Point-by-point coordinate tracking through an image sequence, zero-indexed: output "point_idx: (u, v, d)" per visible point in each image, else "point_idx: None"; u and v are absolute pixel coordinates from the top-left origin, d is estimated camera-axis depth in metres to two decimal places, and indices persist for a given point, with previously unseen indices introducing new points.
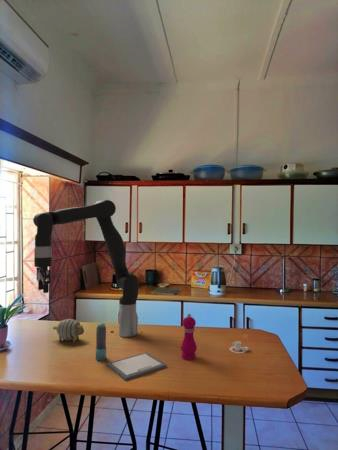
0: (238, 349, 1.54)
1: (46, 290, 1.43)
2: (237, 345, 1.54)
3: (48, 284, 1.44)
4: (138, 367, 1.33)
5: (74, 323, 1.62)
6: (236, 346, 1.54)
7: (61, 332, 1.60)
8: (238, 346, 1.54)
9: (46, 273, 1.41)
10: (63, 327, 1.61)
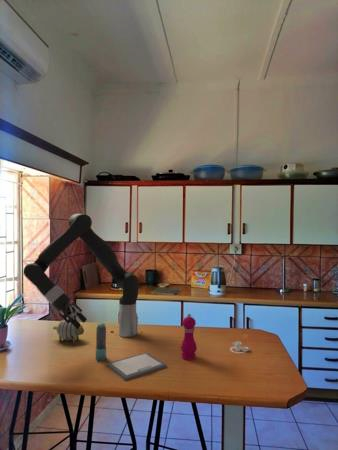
0: (238, 349, 1.54)
1: (76, 325, 1.39)
2: (237, 345, 1.54)
3: (74, 319, 1.39)
4: (138, 367, 1.33)
5: None
6: (236, 346, 1.54)
7: (61, 332, 1.60)
8: (238, 346, 1.54)
9: (61, 314, 1.37)
10: (63, 327, 1.61)
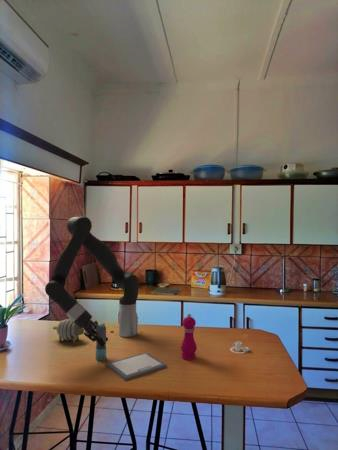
0: (239, 349, 1.54)
1: (101, 343, 1.40)
2: (238, 345, 1.53)
3: (99, 337, 1.41)
4: (138, 367, 1.33)
5: None
6: (237, 346, 1.54)
7: (61, 332, 1.60)
8: (239, 346, 1.53)
9: (87, 334, 1.37)
10: (63, 327, 1.61)
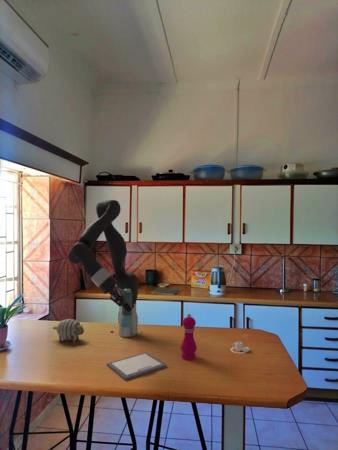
0: (239, 349, 1.53)
1: (128, 309, 1.34)
2: (238, 345, 1.53)
3: None
4: (138, 367, 1.33)
5: (74, 323, 1.62)
6: (237, 346, 1.54)
7: (61, 332, 1.60)
8: (239, 346, 1.53)
9: (113, 299, 1.31)
10: (63, 327, 1.61)
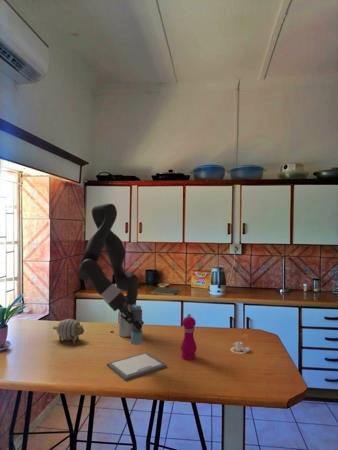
0: (239, 350, 1.53)
1: (138, 326, 1.33)
2: (238, 345, 1.53)
3: (136, 320, 1.33)
4: (138, 367, 1.33)
5: (74, 323, 1.62)
6: (237, 346, 1.53)
7: (61, 332, 1.60)
8: (239, 346, 1.53)
9: (123, 316, 1.30)
10: (63, 327, 1.61)
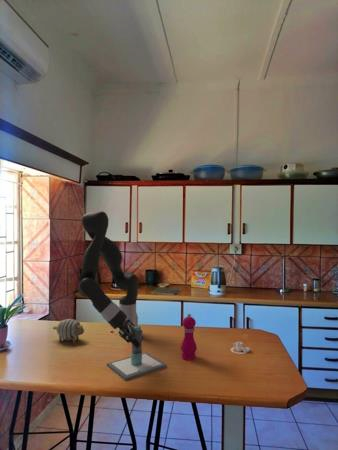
0: (239, 350, 1.53)
1: (136, 345, 1.31)
2: (238, 346, 1.53)
3: (134, 338, 1.32)
4: (138, 367, 1.33)
5: (74, 323, 1.62)
6: (237, 347, 1.53)
7: (61, 332, 1.60)
8: (239, 347, 1.53)
9: (121, 333, 1.29)
10: (63, 327, 1.61)
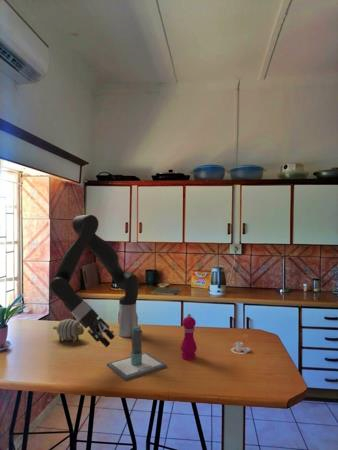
0: (240, 350, 1.53)
1: (105, 344, 1.31)
2: (239, 346, 1.53)
3: (103, 337, 1.32)
4: (138, 367, 1.33)
5: (74, 323, 1.62)
6: (238, 347, 1.53)
7: (61, 332, 1.60)
8: (240, 347, 1.53)
9: (90, 332, 1.30)
10: (63, 327, 1.61)
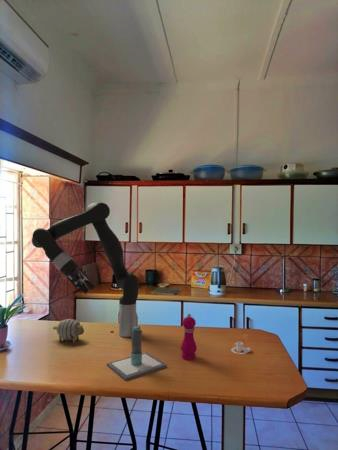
0: (240, 350, 1.53)
1: (84, 290, 1.38)
2: (239, 346, 1.53)
3: (83, 284, 1.39)
4: (138, 367, 1.33)
5: (74, 323, 1.62)
6: (238, 347, 1.53)
7: (61, 332, 1.60)
8: (240, 347, 1.53)
9: (70, 279, 1.37)
10: (63, 327, 1.61)
